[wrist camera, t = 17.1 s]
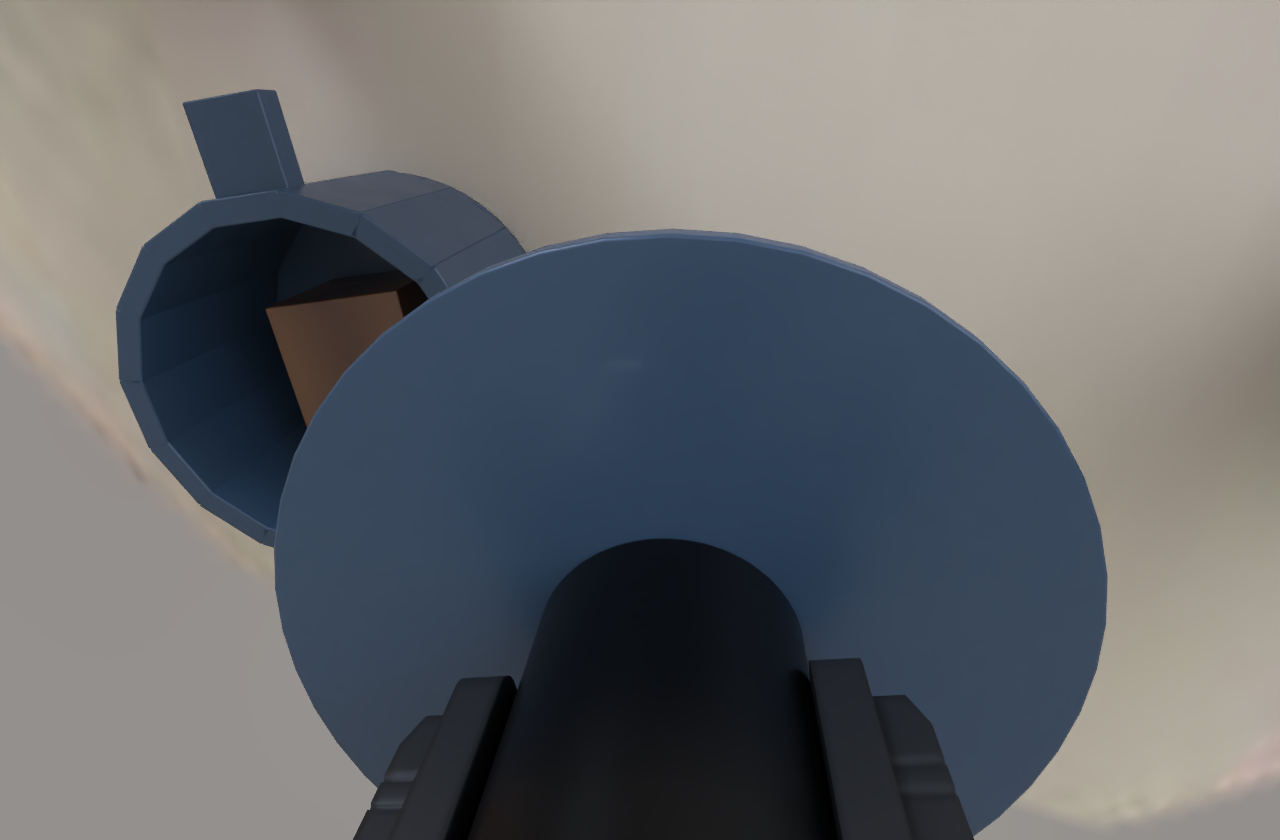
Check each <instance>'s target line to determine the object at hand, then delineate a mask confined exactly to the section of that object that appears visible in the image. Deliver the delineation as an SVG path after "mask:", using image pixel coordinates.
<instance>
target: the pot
mask: <svg viewBox="0 0 1280 840" xmlns="http://www.w3.org/2000/svg"><path fill="white" fill-rule="evenodd" d="M183 106H184V109H185V112H186V115H187V118H188V120H189V123H190V126H191V129H192V132H193V134H194V137H195V140H196V143H197V146H198V149H199V151H200V154H201V157H202V160H203V163H204V166H205V168H206V171H207V174H208V177H209V180H210V183H211V185H212V188H213V191H214V194H215V197H216V199H212V200H206V201H202V202H200V203H198V204H196V205H195V206H194V207H192V208H191V209H190V210H188V211H187V212H186V213H185V214H183V215H182V216H181V217H179V218H178V219H177V220H175V221H174V222H173V223H171V224H170V225H169V226H167V227H166V228H165V229H164V230H162V231H161V232H160V233H158V234H157V235H156V236H154V237H153V238H152V239H150V240H149V241H148V242H146V243H145V245H144V246H143V247H142V249H141V251H140V254H139V256H138V258H137V261H136V263H135V265H134V268H133V270H132V272H131V275H130V277H129V279H128V282H127V284H126V286H125V289H124V291H123V293H122V296H121V298H120V301H119V303H118V305H117V310H116V324H117V344H118V364H119V379H120V380H121V381H120V383H121V386H122V388H123V390H124V392H125V395H126V397H127V399H128V401H129V404H130V406H131V408H132V411H133V413H134V415H135V417H136V420H137V422H138V424H139V426H140V429H141V431H142V433H143V435H144V438H145V440H146V442H147V444H148V447H149V448H151V451H152V452H153V453H154V454H155V455H156V456H157V457H158V459H159V460H160V461H161V462H162V463H163V464H164V465H165V467H166V468H167V469H168V470H169V471H170V472H171V473H172V474H173V476H174V477H175V478H176V479H177V480H178V481H179V482H180V483H181V485H182V486H183V487H184V488H185V489H186V490H187V491H188V492H189V494H190V495H191V496H192V497H193V498H194V499H195V500H196V501H197V503H199V504H201V505H200V506H201V507H203V508H205V509H206V510H208V511H209V512H211V513H213V514H214V515H216V516H217V517H219V518H221V519H222V520H224V521H225V522H227V523H229V524H230V525H232V526H233V527H235V528H237V529H238V530H240V531H242V532H243V533H245V534H246V535H248V536H250V537H251V538H253V539H254V540H256V541H258V542H259V543H261V544H262V543H263V544H264V545H267V546H271V547H274V543H275V535H276V528H277V520H278V513H279V505H280V499H281V496H282V493H283V489H284V486H285V483H286V480H287V476H288V473H289V470H290V466H291V463H292V460H293V456H294V454H295V452H296V450H297V448H298V446H299V444H300V442H301V440H302V438H303V436H304V434H305V432H306V430H307V426H306V424H305V421H304V418H303V415H302V412H301V409H300V407H299V404H298V401H297V398H296V395H295V392H294V389H293V387H292V384H291V381H290V378H289V375H288V372H287V370H286V367H285V364H284V361H283V358H282V355H281V352H280V350H279V347H278V344H277V341H276V338H275V335H274V333H273V330H272V327H271V324H270V321H269V318H268V315H267V313H266V308H267V307H270V306H272V305H274V304H277V303H279V302H281V301H284V300H286V299H288V298H291V297H293V296H295V295H298V294H300V293H302V292H304V291H307V290H309V289H311V288H314V287H316V286H318V285H321V284H323V283H325V282H328V281H330V280H332V279H337V278H344V277H352V276H359V275H366V274H373V273H380V272H387V271H394V270H400V271H401V272H403V273H404V274H405V275H407V276H408V277H410V278H411V279H412V280H414V281H415V282H417V283H418V285H419V286H420V288H421V289H422V290H423V292H424V293H425V295H426V296H427V298H428V299H430V298H431V297H433V296H434V295H436V294H438V293H439V292H441V291H443V290H445V289H447V288H449V287H451V286H453V285H455V284H456V283H458V282H460V281H462V280H464V279H466V278H468V277H470V276H472V275H473V274H475V273H477V272H479V271H481V270H483V269H485V268H487V267H489V266H491V265H494V264H497V263H500V262H503V261H505V260H508V259H511V258H514V257H517V256H519V255H522V254H525V253H526V252H525V251H524V249H523V248H522V247H521V245H520V244H519V242H518V241H517V240H516V238H515V237H514V236H513V234H512V233H511V232H510V231H509V230H508V229H507V228H506V227H505V226H504V225H503V224H502V223H501V221H500V220H499V219H497V218H496V217H495V216H494V215H493V214H492V213H490V212H489V211H488V210H487V209H486V208H485V207H483V206H482V205H481V204H479V203H478V202H476V201H474V200H473V199H471V198H470V197H468V196H467V195H465V194H464V193H462V192H460V191H458V190H456V189H454V188H452V187H450V186H447V185H445V184H443V183H440V182H437V181H434V180H431V179H428V178H425V177H420V176H415V175H410V174H405V173H398V172H395V171H388V170H387V171H381V172H375V173H368V174H362V175H356V176H349V177H343V178H336V179H330V180H324V181H318V182H312V183H307V184H304V181H303V178H302V175H301V171H300V168H299V165H298V162H297V158H296V155H295V152H294V148H293V145H292V142H291V139H290V135H289V132H288V129H287V126H286V122H285V119H284V116H283V113H282V109H281V106H280V103H279V100H278V96H277V93H276V91H274V90H260V89H255V90H249V91H244V92H238V93H233V94H227V95H222V96H216V97H210V98H205V99H199V100H194V101H188V102H184V103H183Z"/></svg>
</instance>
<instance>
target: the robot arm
mask: <svg viewBox="0 0 1280 840" xmlns="http://www.w3.org/2000/svg"><path fill="white" fill-rule="evenodd" d="M809 679H810V687H811V692H812V698H813V704H814V709H815V715H816V721H817V726H818V732H819V738H820V743H821V749H822V755H823V760H824V766H825V772H826V777H827V783H828V789H829V794H830V800H831V806H832V812H833V817H834V823H835V829H836V834H837V840H974V838H973V835H972V832H971V830H970V827H969V824H968V821H967V819H966V816H965V813H964V810H963V808H962V805H961V802H960V799H959V797H958V795H956V791H955V786H954V783H953V780H952V778H951V775H950V772H949V769H948V767H947V765H946V764H945V760H944V756H943V753H942V750H941V747H940V745H939V742H938V739H937V736H936V734H935V731H934V728H933V725H932V723H931V722H930V721H929V720H928V719H927V718H926V717H925V716H924V714H923V713H922V712H921V711H920V710H919V709H918V708H917V707H916V706H915V705H914V704H913V703H912V701H911V700H910V699H909V698H908V697H907V696H906V695H888V696H872V694H871V691H870V687H869V684H868V680H867V676H866V673H865V669H864V666H863V663H862V660H861V658H845V659H826V660H809ZM516 693H517V688H516V685H515V682H514V680H513V678H512V677H511V676H491V677H472V678H462V679H460V680H459V681H458V683H457V684H456V686H455V688H454V690H453V693H452V695H451V697H450V699H449V702H448V704H447V706H446V708H445V711H444V713H443V715H433V716H426V717H425V718H424V719H423V720H422V721H421V722H420V723H419V724H418V725H417V726H416V727H415V728H414V729H413V731H412V732H411V733H410V734H409V735H408V736H407V737H406V738H405V739H404V740H403V741H402V742H401V743H400V745H399V747H398V749H397V751H396V753H395V755H394V757H393V759H392V761H391V763H390V765H389V767H388V769H387V771H386V773H385V775H384V782H383V783H380V785H379V787H378V789H377V791H376V794H375V796H374V798H373V800H372V802H371V809H370V810H367V812H366V814H365V816H364V818H363V820H362V822H361V824H360V826H359V828H358V830H357V833H356V835H355V836H354V838H353V840H467V839H468V836H469V833H470V830H471V827H472V824H473V821H474V818H475V815H476V812H477V809H478V806H479V803H480V800H481V797H482V794H483V791H484V788H485V785H486V782H487V779H488V776H489V773H490V770H491V767H492V764H493V761H494V758H495V755H496V752H497V749H498V746H499V743H500V740H501V737H502V734H503V731H504V729H505V726H506V723H507V720H508V717H509V714H510V711H511V708H512V705H513V702H514V699H515V696H516Z"/></svg>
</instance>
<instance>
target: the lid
mask: <svg viewBox="0 0 1280 840" xmlns="http://www.w3.org/2000/svg"><path fill="white" fill-rule="evenodd" d="M274 559H275V590H276V595H277V601H278V606H279V611H280V618H281V623H282V629H283V632H284V636H285V639H286V642H287V644H288V648H289V651H290V654H291V657H292V660H293V663H294V666H295V669H296V671H297V673H298V675H299V677H300V679H301V682H302V684H303V686H304V688H305V690H306V692H307V694H308V696H309V698H310V700H311V702H312V704H313V706H314V708H315V710H316V711H317V713H318V714H319V716H320V717H321V719H322V720H323V722H324V723H325V725H326V726H327V728H328V729H329V731H330V732H331V734H332V736H333V737H334V738H335V740H336V742H337V743H338V744H339V745H340V747H341V748H342V749H343V750H344V751H345V753H346V754H347V755H348V756H349V757H350V759H351V760H352V761H353V762H354V763H355V765H356V766H357V767H358V768H359V769H360V771H362V773H363V774H364V775H365V776H366V777H367V778H368V779H369V780H370V781H371V782H372V783H373V784H374V785H375V786H376V787H377V788H378V787H379V785H380V783H383V782H384V775H385V773H386V771H387V769H388V767H389V765H390V763H391V761H392V759H393V757H394V755H395V753H396V751H397V749H398V747H399V745H400V743H401V742H402V741H403V740H404V739H405V738H406V737H407V736H408V735H409V734H410V733H411V732H412V731H413V729H414V728H415V727H416V726H417V725H418V724H419V723H420V722H421V721H422V720H423V719H424V718H425V717H426V716H433V715H443V713H444V711H445V708H446V706H447V704H448V702H449V699H450V697H451V695H452V693H453V690H454V688H455V686H456V684H457V683H458V681H459V680H460V679H462V678H472V677H491V676H511V677H512V678H513V680H514V682H515V685H516V688H517V693H516V696H515V699H514V702H513V705H512V708H511V711H510V714H509V717H508V720H507V723H506V726H505V729H504V731H503V734H502V737H501V740H500V743H499V746H498V749H497V752H496V755H495V758H494V761H493V764H492V767H491V770H490V773H489V776H488V779H487V782H486V785H485V788H484V791H483V794H482V797H481V800H480V803H479V806H478V809H477V812H476V815H475V818H474V821H473V824H472V827H471V830H470V833H469V836H468V839H467V840H837V834H836V829H835V823H834V817H833V812H832V806H831V800H830V794H829V789H828V783H827V777H826V772H825V766H824V760H823V755H822V749H821V743H820V738H819V732H818V726H817V721H816V715H815V709H814V704H813V698H812V692H811V687H810V679H809V660H826V659H845V658H861V660H862V663H863V666H864V669H865V673H866V676H867V680H868V684H869V687H870V691H871V694H872V696H888V695H906V696H907V697H908V698H909V699H910V700H911V701H912V703H913V704H914V705H915V706H916V707H917V708H918V709H919V710H920V711H921V712H922V713H923V714H924V716H925V717H926V718H927V719H928V720H929V721H930V722H931V723H932V725H933V728H934V731H935V734H936V736H937V739H938V742H939V745H940V747H941V750H942V753H943V756H944V760H945V764H946V765H947V767H948V769H949V772H950V775H951V778H952V780H953V783H954V786H955V791H956V795H958V797H959V799H960V802H961V805H962V808H963V810H964V813H965V816H966V819H967V821H968V824H969V827H970V830H971V832H972V835H973V836H975V835H976V834H977V833H978V832H980V831H981V830H983V829H984V828H985V827H987V826H988V825H989V824H991V823H992V822H993V821H995V820H996V819H997V818H998V817H1000V816H1001V815H1002V814H1003V813H1004V812H1005V811H1006V810H1007V809H1008V808H1009V807H1010V806H1011V805H1012V804H1013V803H1014V802H1015V801H1016V800H1017V799H1018V798H1019V797H1020V796H1021V795H1022V794H1023V793H1024V792H1025V791H1026V790H1027V789H1028V788H1029V787H1030V786H1031V785H1032V784H1033V783H1034V781H1035V780H1036V779H1037V778H1038V776H1039V775H1040V774H1041V772H1042V771H1043V770H1044V769H1045V767H1046V766H1047V765H1048V764H1049V762H1050V761H1051V760H1052V758H1053V757H1054V756H1055V755H1056V753H1057V752H1058V750H1059V749H1060V747H1061V745H1062V744H1063V742H1064V740H1065V738H1066V737H1067V735H1068V733H1069V731H1070V730H1071V728H1072V726H1073V724H1074V723H1075V721H1076V719H1077V717H1078V716H1079V714H1080V712H1081V709H1082V707H1083V704H1084V701H1085V699H1086V696H1087V694H1088V691H1089V688H1090V686H1091V683H1092V681H1093V678H1094V675H1095V673H1096V670H1097V665H1098V660H1099V655H1100V650H1101V646H1102V641H1103V636H1104V631H1105V626H1106V602H1107V571H1106V564H1105V557H1104V550H1103V542H1102V535H1101V528H1100V524H1099V521H1098V518H1097V515H1096V512H1095V509H1094V506H1093V503H1092V499H1091V496H1090V493H1089V490H1088V487H1087V484H1086V481H1085V478H1084V476H1083V474H1082V472H1081V470H1080V468H1079V466H1078V464H1077V462H1076V460H1075V458H1074V457H1073V455H1072V453H1071V451H1070V449H1069V447H1068V445H1067V443H1066V441H1065V439H1064V437H1063V436H1062V434H1061V432H1060V430H1059V428H1058V427H1057V425H1056V424H1055V423H1054V421H1053V420H1052V419H1051V417H1050V416H1049V415H1048V414H1047V412H1046V411H1045V410H1044V408H1043V407H1042V406H1041V404H1040V403H1039V402H1038V400H1037V399H1036V398H1035V396H1034V395H1033V394H1032V392H1031V391H1030V390H1029V388H1028V387H1027V386H1026V384H1025V383H1024V382H1023V381H1022V380H1021V379H1020V378H1019V377H1018V376H1017V375H1016V374H1015V373H1014V372H1013V371H1012V370H1011V369H1010V368H1009V367H1007V366H1006V365H1005V364H1004V363H1003V362H1002V361H1001V360H1000V359H999V358H998V357H997V356H996V355H995V354H994V353H993V352H992V351H991V350H990V349H989V348H988V347H987V346H986V345H985V344H984V343H983V342H982V341H981V340H979V339H978V338H977V337H976V336H975V335H973V334H972V333H971V332H970V331H968V330H967V329H965V328H964V327H963V326H961V325H960V324H958V323H957V322H956V321H954V320H953V319H951V318H950V317H948V316H947V315H946V314H944V313H943V312H941V311H940V310H939V309H937V308H936V307H934V306H933V305H932V304H930V303H929V302H927V301H926V300H925V299H923V298H922V297H920V296H918V295H916V294H914V293H912V292H910V291H909V290H907V289H905V288H903V287H901V286H899V285H897V284H895V283H893V282H891V281H889V280H887V279H885V278H883V277H881V276H879V275H877V274H875V273H873V272H871V271H869V270H868V269H866V268H864V267H861V266H858V265H855V264H852V263H849V262H846V261H843V260H841V259H838V258H835V257H832V256H829V255H826V254H823V253H820V252H818V251H815V250H812V249H809V248H806V247H803V246H799V245H794V244H789V243H784V242H779V241H774V240H769V239H764V238H759V237H754V236H749V235H744V234H739V233H728V232H712V231H697V230H682V229H663V230H648V231H634V232H619V233H606V234H602V235H597V236H592V237H587V238H582V239H578V240H573V241H568V242H563V243H558V244H554V245H549V246H545V247H542V248H539V249H536V250H533V251H531V252H528V253H525V254H522V255H519V256H517V257H514V258H511V259H508V260H505V261H503V262H500V263H497V264H494V265H491V266H489V267H487V268H485V269H483V270H481V271H479V272H477V273H475V274H473V275H472V276H470V277H468V278H466V279H464V280H462V281H460V282H458V283H456V284H455V285H453V286H451V287H449V288H447V289H445V290H443V291H441V292H439V293H438V294H436V295H434V296H433V297H431V298H430V299H428V300H427V301H426V302H424V303H423V304H421V305H420V306H419V307H417V308H416V309H415V310H413V311H412V312H411V313H409V314H408V315H407V316H405V317H404V318H403V319H401V320H400V321H398V322H397V323H396V324H394V325H393V326H392V327H390V328H389V329H388V330H386V331H385V332H384V333H382V334H381V335H380V336H379V337H378V338H377V339H376V340H375V341H374V342H373V343H372V344H371V345H370V346H369V347H368V348H367V349H366V350H365V351H364V352H363V353H362V354H361V355H360V356H359V357H358V358H357V359H356V360H355V361H354V362H353V363H352V364H351V365H350V366H349V367H348V368H347V369H346V370H345V371H344V373H343V374H342V376H341V377H340V378H339V380H338V381H337V383H336V384H335V385H334V387H333V388H332V390H331V391H330V392H329V394H328V395H327V397H326V398H325V399H324V401H323V402H322V404H321V405H320V406H319V408H318V409H317V411H316V412H315V414H314V416H313V418H312V420H311V422H310V424H309V426H308V428H307V430H306V432H305V434H304V436H303V438H302V440H301V442H300V444H299V446H298V448H297V450H296V452H295V454H294V456H293V460H292V463H291V466H290V470H289V473H288V476H287V480H286V483H285V486H284V489H283V493H282V496H281V499H280V505H279V513H278V520H277V528H276V535H275V543H274Z"/></svg>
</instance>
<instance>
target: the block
mask: <svg viewBox="0 0 1280 840" xmlns="http://www.w3.org/2000/svg"><path fill="white" fill-rule="evenodd" d="M427 300H428V298H427V296H426V295H425V293H424V292H423V290H422V289H421V288H420V286H419V285H418V283H417V282H415V281H414V280H412V279H411V278H410V277H408V276H407V275H405V274H404V273H403V272H401V271H400V270H394V271H387V272H380V273H373V274H366V275H359V276H352V277H344V278H337V279H332V280H330V281H328V282H325V283H323V284H321V285H318V286H316V287H314V288H311V289H309V290H307V291H304V292H302V293H300V294H298V295H295V296H293V297H291V298H288V299H286V300H284V301H281V302H279V303H277V304H274V305H272V306H270V307H267V308H266V313H267V315H268V318H269V321H270V324H271V327H272V330H273V333H274V335H275V338H276V341H277V344H278V347H279V350H280V352H281V355H282V358H283V361H284V364H285V367H286V370H287V372H288V375H289V378H290V381H291V384H292V387H293V389H294V392H295V395H296V398H297V401H298V404H299V407H300V409H301V412H302V415H303V418H304V421H305V424H306V426H307V428H308V426H309V424H310V422H311V420H312V418H313V416H314V414H315V412H316V411H317V409H318V408H319V406H320V405H321V404H322V402H323V401H324V399H325V398H326V397H327V395H328V394H329V392H330V391H331V390H332V388H333V387H334V385H335V384H336V383H337V381H338V380H339V378H340V377H341V376H342V374H343V373H344V371H345V370H346V369H347V368H348V367H349V366H350V365H351V364H352V363H353V362H354V361H355V360H356V359H357V358H358V357H359V356H360V355H361V354H362V353H363V352H364V351H365V350H366V349H367V348H368V347H369V346H370V345H371V344H372V343H373V342H374V341H375V340H376V339H377V338H378V337H379V336H380V335H381V334H382V333H384V332H385V331H386V330H388V329H389V328H390V327H392V326H393V325H394V324H396V323H397V322H398V321H400V320H401V319H403V318H404V317H405V316H407V315H408V314H409V313H411V312H412V311H413V310H415V309H416V308H417V307H419V306H420V305H421V304H423V303H424V302H426V301H427Z"/></svg>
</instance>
